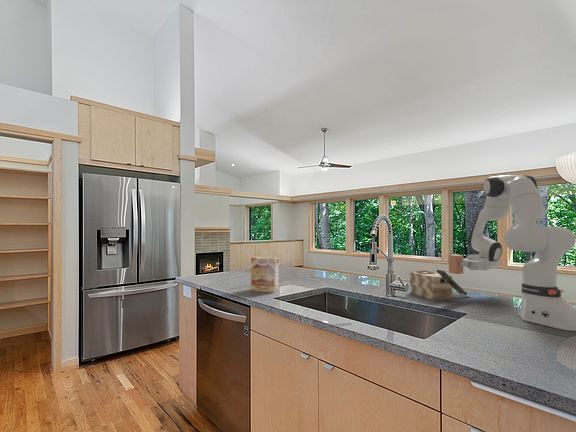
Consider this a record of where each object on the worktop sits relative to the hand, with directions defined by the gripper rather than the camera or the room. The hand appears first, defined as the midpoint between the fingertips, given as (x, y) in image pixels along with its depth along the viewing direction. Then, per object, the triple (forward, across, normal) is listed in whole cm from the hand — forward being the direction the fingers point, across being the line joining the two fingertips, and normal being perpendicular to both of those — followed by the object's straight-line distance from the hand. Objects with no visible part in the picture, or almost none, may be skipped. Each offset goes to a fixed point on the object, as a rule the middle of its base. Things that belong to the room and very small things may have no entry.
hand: (454, 263), depth 171 cm
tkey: (+5, +9, +14) cm, 17 cm away
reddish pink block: (-1, 0, +6) cm, 6 cm away
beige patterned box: (+12, -5, +18) cm, 22 cm away
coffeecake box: (+97, -42, +18) cm, 108 cm away
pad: (-1, 0, +18) cm, 18 cm away
